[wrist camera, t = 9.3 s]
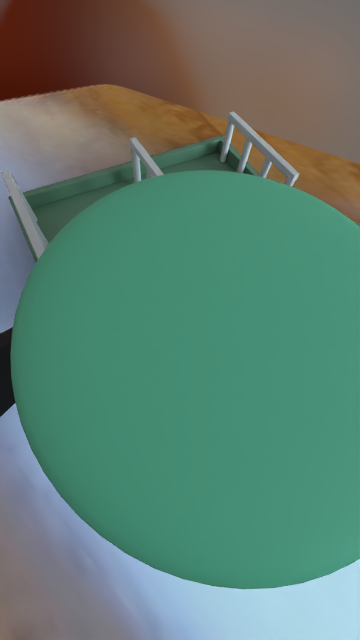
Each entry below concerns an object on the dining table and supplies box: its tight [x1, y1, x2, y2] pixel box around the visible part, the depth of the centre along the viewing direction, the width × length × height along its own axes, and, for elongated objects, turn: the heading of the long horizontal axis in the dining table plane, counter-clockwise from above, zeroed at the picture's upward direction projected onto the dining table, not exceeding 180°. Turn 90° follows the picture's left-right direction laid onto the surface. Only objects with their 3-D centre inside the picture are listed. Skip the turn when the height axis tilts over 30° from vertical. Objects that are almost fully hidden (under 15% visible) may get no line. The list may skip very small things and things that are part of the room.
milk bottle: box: [10, 170, 360, 589], centre depth 12 cm, size 8×8×20 cm
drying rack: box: [1, 112, 299, 262], centre depth 26 cm, size 27×16×6 cm, turn 120°
